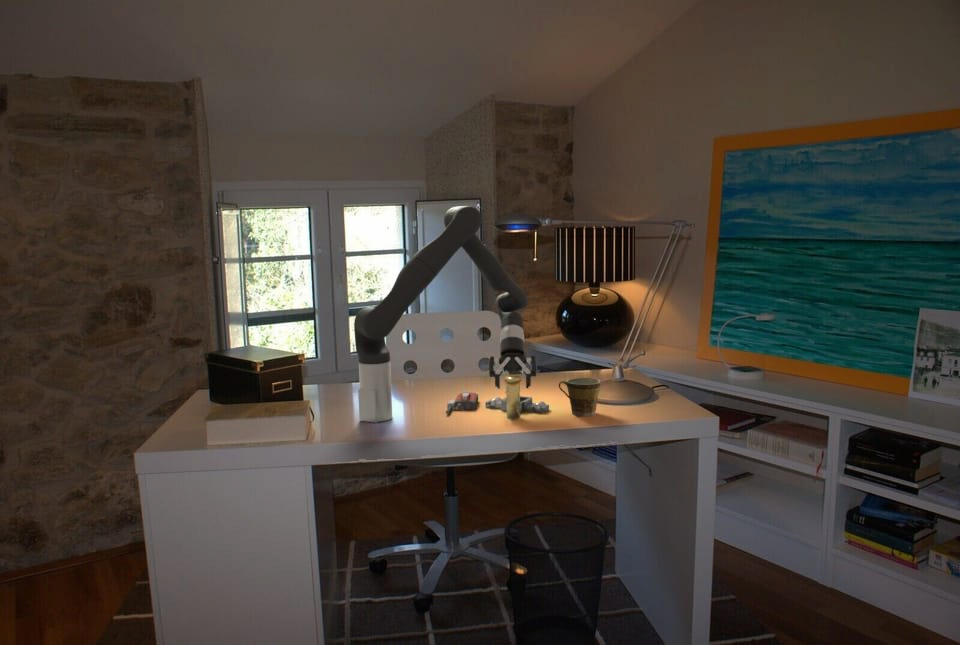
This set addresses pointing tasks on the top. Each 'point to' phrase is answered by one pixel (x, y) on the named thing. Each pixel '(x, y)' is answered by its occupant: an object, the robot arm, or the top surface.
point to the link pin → (513, 396)
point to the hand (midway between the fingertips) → (513, 387)
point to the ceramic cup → (582, 395)
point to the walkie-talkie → (463, 402)
